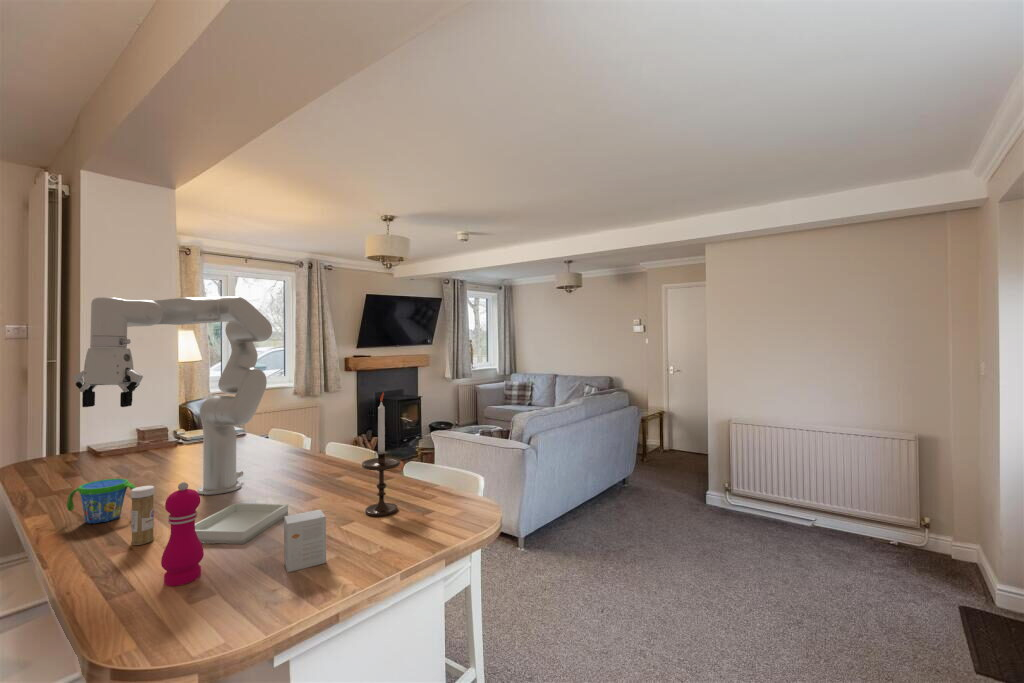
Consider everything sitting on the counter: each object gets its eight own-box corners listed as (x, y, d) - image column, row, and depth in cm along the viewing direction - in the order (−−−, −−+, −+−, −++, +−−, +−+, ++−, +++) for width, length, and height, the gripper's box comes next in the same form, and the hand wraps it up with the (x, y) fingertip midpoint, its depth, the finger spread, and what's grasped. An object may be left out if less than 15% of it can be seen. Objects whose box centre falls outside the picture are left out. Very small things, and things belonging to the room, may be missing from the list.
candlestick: (408, 507, 139) (407, 390, 139) (383, 520, 129) (383, 393, 129) (379, 502, 143) (379, 389, 144) (353, 514, 133) (353, 392, 134)
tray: (234, 513, 134) (234, 503, 134) (288, 514, 133) (288, 504, 133) (181, 542, 114) (181, 530, 114) (243, 544, 113) (243, 531, 113)
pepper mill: (175, 571, 100) (175, 477, 100) (210, 569, 100) (211, 477, 101) (152, 588, 93) (152, 488, 93) (190, 586, 93) (190, 487, 94)
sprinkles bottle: (153, 543, 114) (153, 488, 114) (129, 547, 112) (129, 491, 112) (154, 536, 118) (155, 483, 118) (131, 541, 116) (132, 486, 116)
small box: (321, 554, 108) (321, 508, 108) (326, 563, 103) (326, 516, 103) (283, 563, 103) (283, 515, 104) (286, 573, 99) (286, 523, 99)
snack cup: (145, 510, 137) (146, 476, 137) (125, 524, 127) (125, 486, 127) (83, 515, 134) (83, 480, 134) (56, 529, 123) (56, 491, 124)
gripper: (152, 343, 130) (150, 404, 130) (87, 343, 129) (85, 405, 129) (131, 343, 123) (130, 408, 122) (62, 342, 122) (61, 408, 121)
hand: (107, 406), depth 125 cm, fingers open, 9 cm apart
